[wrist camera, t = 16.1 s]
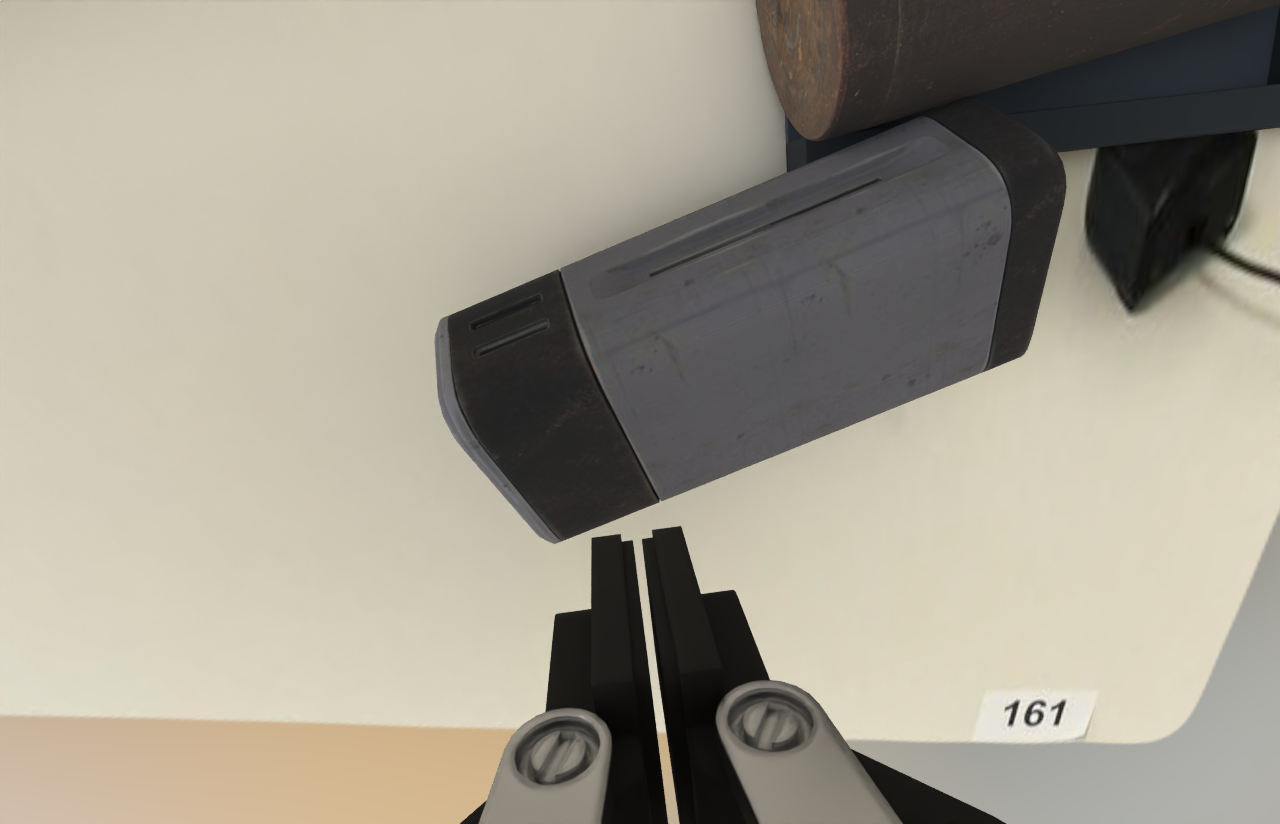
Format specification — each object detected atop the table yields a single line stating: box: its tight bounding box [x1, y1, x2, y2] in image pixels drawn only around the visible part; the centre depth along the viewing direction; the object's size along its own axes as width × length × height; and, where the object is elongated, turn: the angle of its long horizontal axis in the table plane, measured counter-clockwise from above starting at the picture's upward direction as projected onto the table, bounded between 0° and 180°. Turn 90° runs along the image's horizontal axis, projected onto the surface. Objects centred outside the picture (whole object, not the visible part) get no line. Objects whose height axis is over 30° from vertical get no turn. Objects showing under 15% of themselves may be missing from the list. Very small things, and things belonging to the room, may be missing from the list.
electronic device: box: [435, 97, 1066, 544], centre depth 24 cm, size 9×6×20 cm
